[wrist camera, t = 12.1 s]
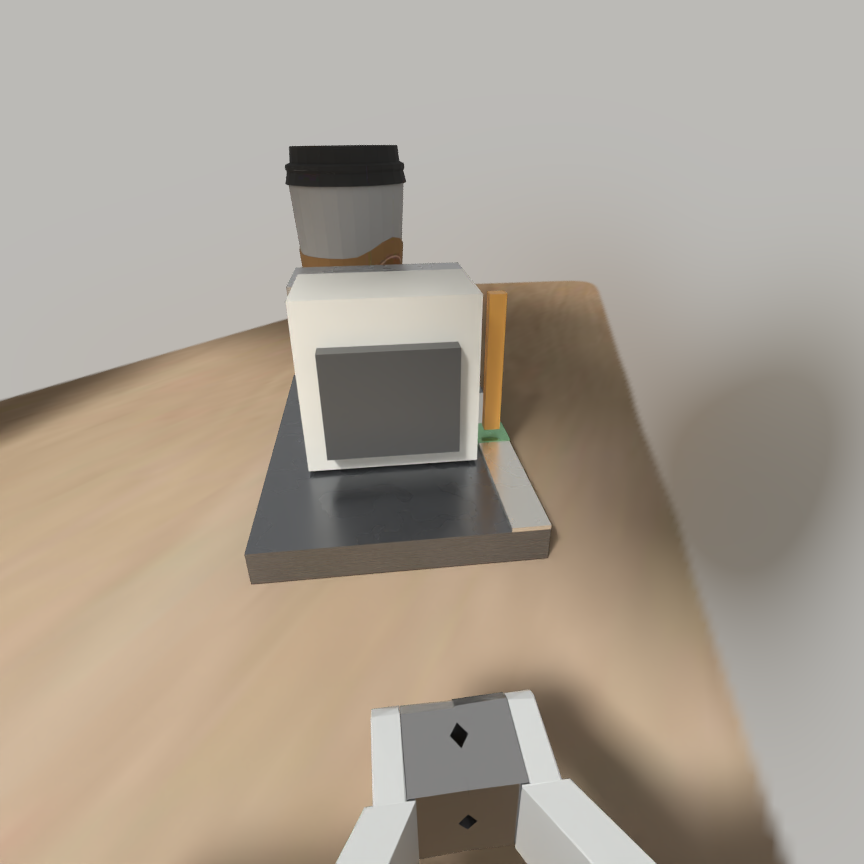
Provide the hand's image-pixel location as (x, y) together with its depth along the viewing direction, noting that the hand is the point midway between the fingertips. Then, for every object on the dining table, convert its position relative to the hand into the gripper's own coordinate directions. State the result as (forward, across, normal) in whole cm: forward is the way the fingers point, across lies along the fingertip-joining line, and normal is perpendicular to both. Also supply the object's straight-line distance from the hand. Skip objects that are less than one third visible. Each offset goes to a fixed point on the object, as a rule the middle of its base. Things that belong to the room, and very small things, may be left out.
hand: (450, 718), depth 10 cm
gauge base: (+19, 0, +6) cm, 20 cm away
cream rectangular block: (+18, -1, +4) cm, 18 cm away
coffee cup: (+36, +2, +6) cm, 36 cm away
